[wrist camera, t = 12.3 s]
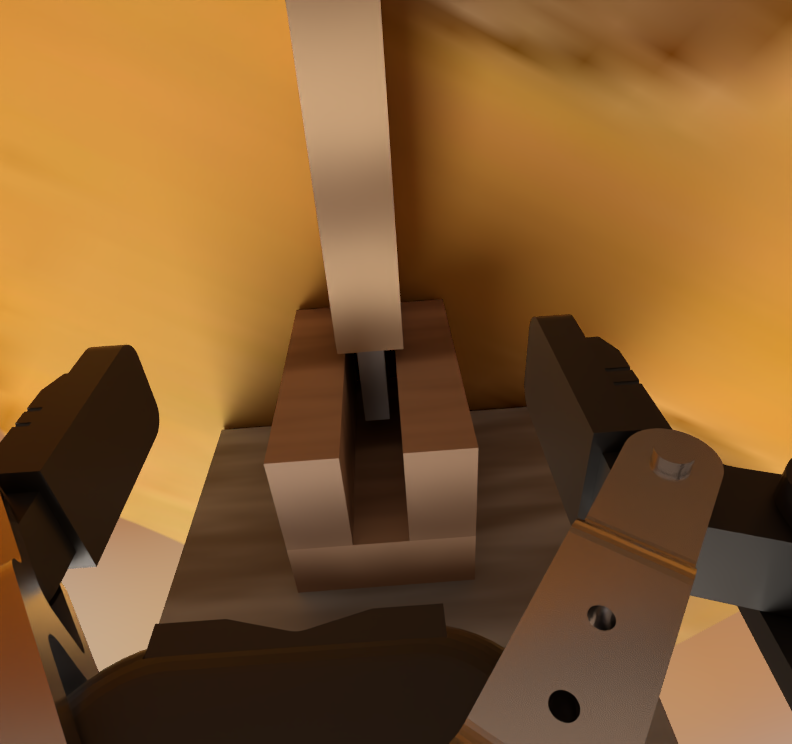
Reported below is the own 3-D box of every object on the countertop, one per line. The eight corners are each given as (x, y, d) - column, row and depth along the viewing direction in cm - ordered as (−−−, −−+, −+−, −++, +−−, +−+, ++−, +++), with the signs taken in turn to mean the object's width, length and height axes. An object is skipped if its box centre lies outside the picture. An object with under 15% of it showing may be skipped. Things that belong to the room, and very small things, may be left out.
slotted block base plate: (187, 318, 31) (-20, 702, 14) (552, 290, 31) (764, 642, 14) (227, 448, 36) (112, 835, 20) (537, 425, 36) (680, 792, 20)
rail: (300, -23, 22) (281, -25, 17) (375, -29, 22) (378, -32, 17) (350, 355, 33) (347, 422, 28) (401, 352, 33) (407, 417, 28)
